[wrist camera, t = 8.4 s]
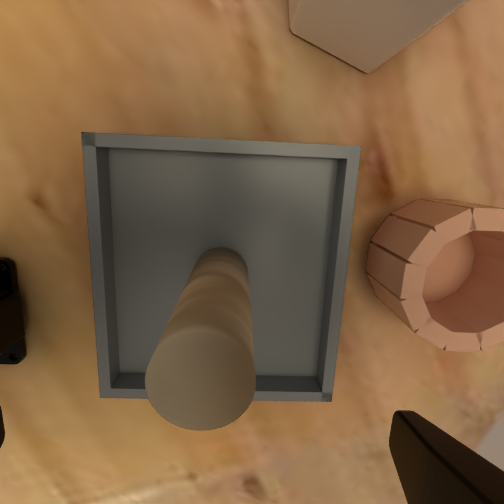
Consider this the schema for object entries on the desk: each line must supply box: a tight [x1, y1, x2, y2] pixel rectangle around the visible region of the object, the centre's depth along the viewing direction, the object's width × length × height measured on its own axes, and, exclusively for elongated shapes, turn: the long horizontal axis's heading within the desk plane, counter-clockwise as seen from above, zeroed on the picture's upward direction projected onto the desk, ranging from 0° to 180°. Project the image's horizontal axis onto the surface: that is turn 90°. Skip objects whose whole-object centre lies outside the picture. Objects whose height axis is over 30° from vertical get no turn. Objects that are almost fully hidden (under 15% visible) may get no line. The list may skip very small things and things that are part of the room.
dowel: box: [145, 247, 256, 431], centre depth 14 cm, size 3×3×10 cm
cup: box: [366, 199, 504, 352], centre depth 18 cm, size 7×7×4 cm
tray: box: [81, 132, 361, 402], centre depth 19 cm, size 13×14×2 cm
